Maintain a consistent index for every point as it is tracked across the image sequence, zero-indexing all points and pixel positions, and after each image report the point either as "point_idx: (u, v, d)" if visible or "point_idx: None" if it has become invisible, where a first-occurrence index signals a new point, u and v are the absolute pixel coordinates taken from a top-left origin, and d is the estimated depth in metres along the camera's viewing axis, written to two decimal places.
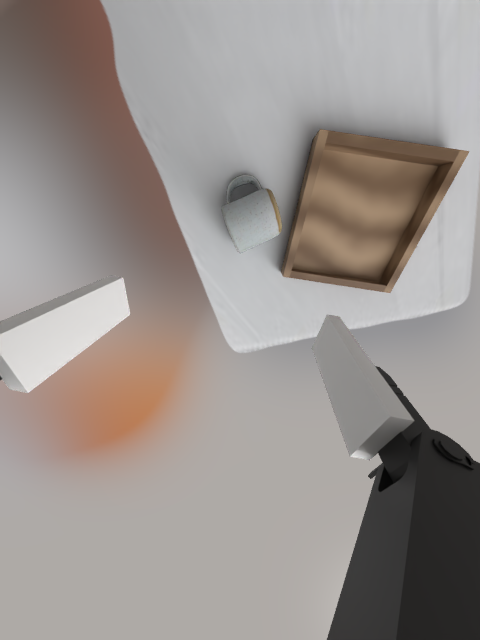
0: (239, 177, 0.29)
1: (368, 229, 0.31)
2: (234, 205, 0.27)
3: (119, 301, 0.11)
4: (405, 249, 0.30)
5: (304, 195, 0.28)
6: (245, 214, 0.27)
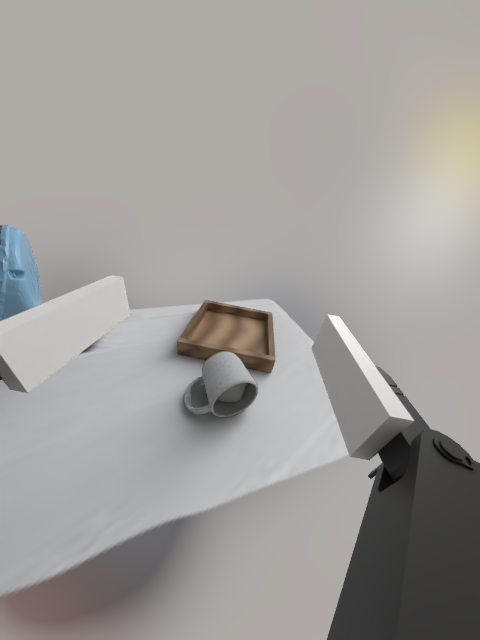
0: (185, 398, 0.29)
1: (235, 326, 0.49)
2: (213, 384, 0.27)
3: (119, 301, 0.11)
4: (246, 310, 0.53)
5: (213, 347, 0.37)
6: (223, 369, 0.27)
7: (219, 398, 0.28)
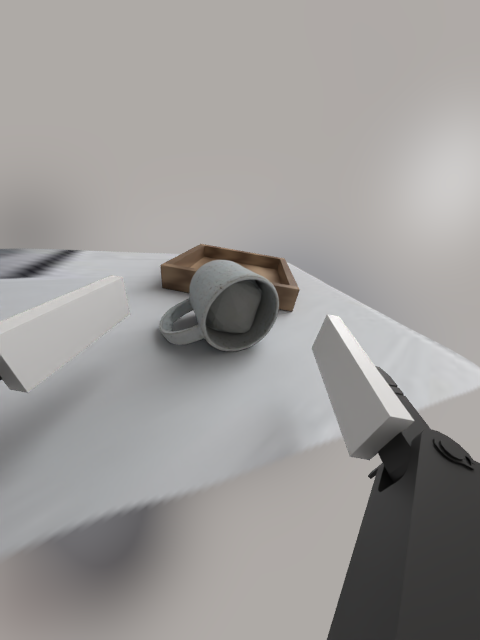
0: (161, 324, 0.18)
1: None
2: (205, 287, 0.16)
3: (119, 301, 0.12)
4: (252, 255, 0.42)
5: None
6: (222, 268, 0.17)
7: (216, 320, 0.17)
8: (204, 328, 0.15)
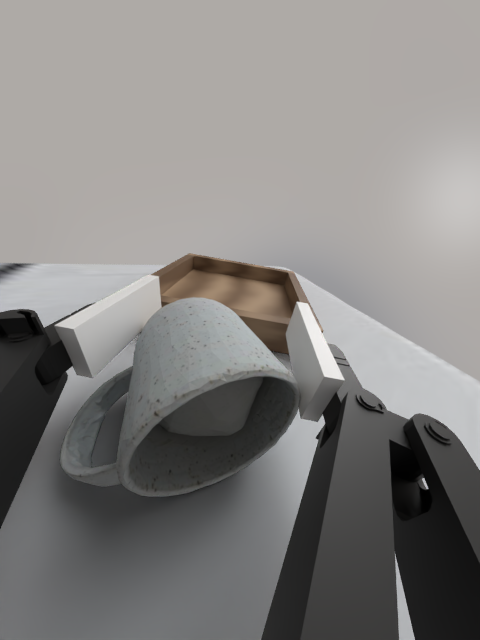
0: (72, 429, 0.09)
1: (236, 288, 0.30)
2: (136, 384, 0.07)
3: (155, 298, 0.12)
4: (254, 267, 0.34)
5: None
6: (182, 333, 0.08)
7: (174, 430, 0.09)
8: (129, 486, 0.06)
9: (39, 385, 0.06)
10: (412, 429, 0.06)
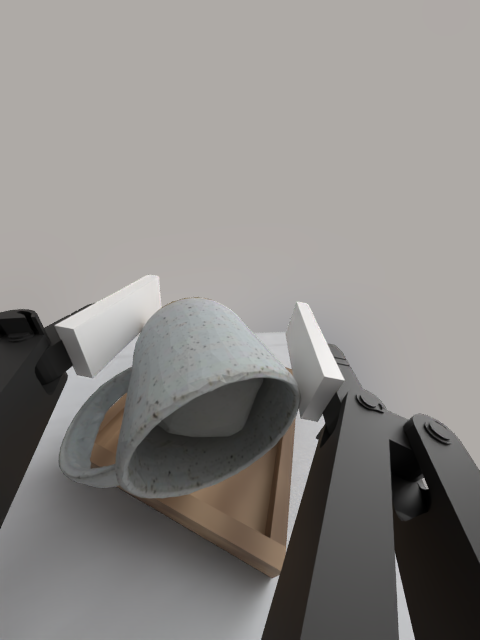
0: (71, 430, 0.09)
1: None
2: (136, 385, 0.07)
3: (155, 298, 0.12)
4: None
5: None
6: (182, 333, 0.08)
7: (173, 431, 0.09)
8: (128, 488, 0.06)
9: (39, 385, 0.06)
10: (412, 429, 0.06)
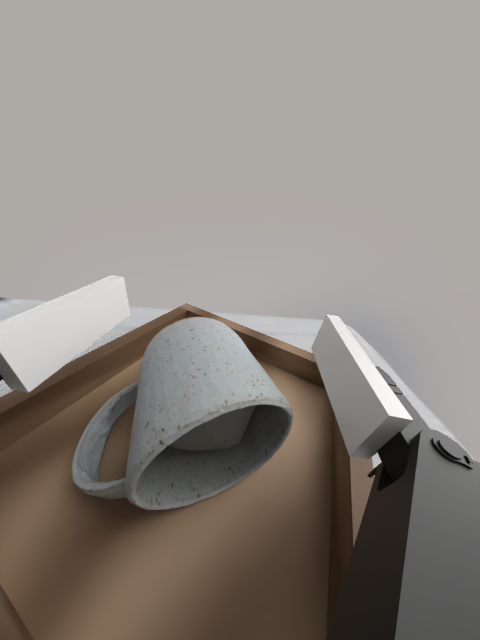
0: (81, 444, 0.10)
1: None
2: (142, 409, 0.08)
3: (119, 301, 0.12)
4: (278, 349, 0.18)
5: None
6: (184, 359, 0.09)
7: (176, 446, 0.09)
8: (136, 502, 0.07)
9: None
10: None
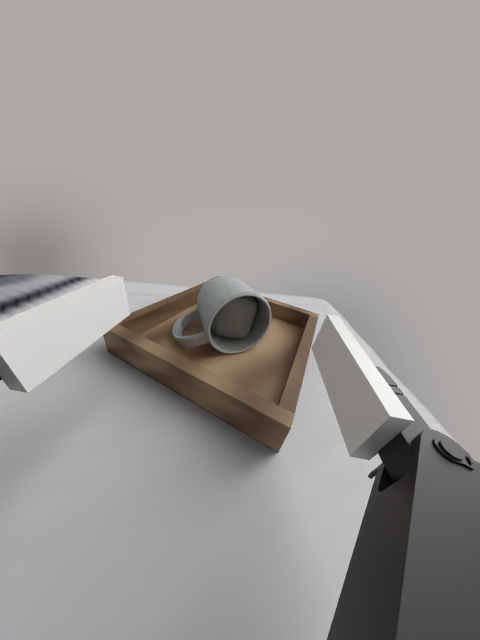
0: (174, 330, 0.22)
1: None
2: (210, 301, 0.19)
3: (119, 301, 0.12)
4: (271, 303, 0.30)
5: (155, 353, 0.17)
6: (224, 285, 0.20)
7: (219, 327, 0.21)
8: (209, 334, 0.19)
9: None
10: None
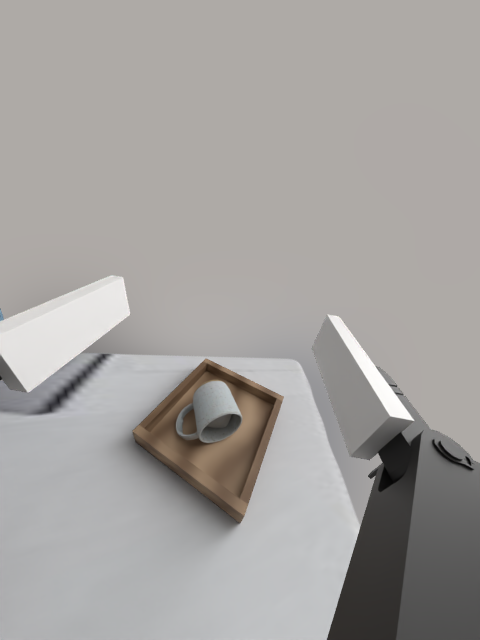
0: (177, 425, 0.32)
1: None
2: (200, 414, 0.30)
3: (119, 301, 0.11)
4: (249, 385, 0.40)
5: (168, 456, 0.27)
6: (210, 400, 0.30)
7: (207, 425, 0.31)
8: (200, 437, 0.29)
9: None
10: None
